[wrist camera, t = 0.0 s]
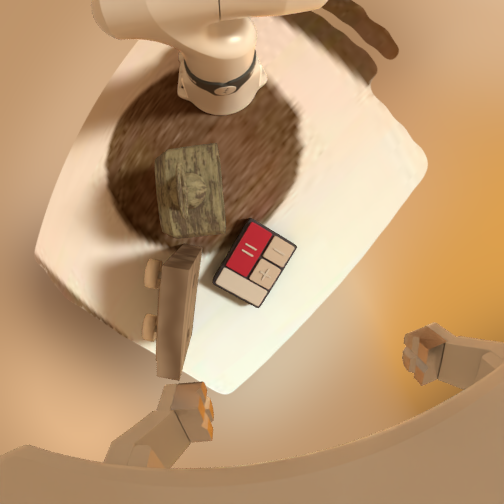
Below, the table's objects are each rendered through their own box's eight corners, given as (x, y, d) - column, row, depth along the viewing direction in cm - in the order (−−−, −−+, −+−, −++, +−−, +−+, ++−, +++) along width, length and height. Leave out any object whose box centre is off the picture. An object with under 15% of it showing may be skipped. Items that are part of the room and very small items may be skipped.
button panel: (172, 329, 60) (154, 375, 43) (181, 243, 56) (159, 265, 39) (191, 333, 61) (179, 380, 43) (202, 246, 57) (189, 270, 39)
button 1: (151, 282, 51) (143, 291, 46) (153, 256, 50) (145, 262, 45) (184, 288, 52) (180, 298, 47) (187, 261, 51) (183, 269, 46)
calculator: (298, 246, 55) (259, 310, 56) (293, 243, 59) (257, 303, 60) (251, 217, 53) (211, 284, 54) (249, 216, 57) (212, 278, 58)
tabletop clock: (226, 225, 56) (221, 249, 32) (182, 230, 56) (146, 257, 31) (220, 154, 53) (209, 123, 29) (175, 159, 53) (134, 136, 28)
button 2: (148, 332, 53) (142, 344, 48) (149, 309, 52) (142, 320, 47) (180, 338, 54) (175, 351, 49) (182, 315, 53) (177, 327, 48)
